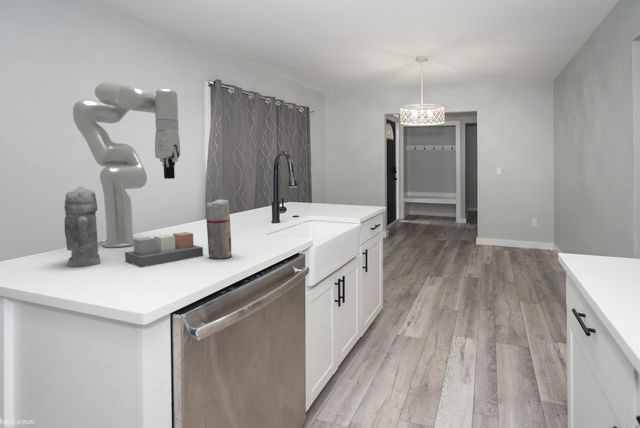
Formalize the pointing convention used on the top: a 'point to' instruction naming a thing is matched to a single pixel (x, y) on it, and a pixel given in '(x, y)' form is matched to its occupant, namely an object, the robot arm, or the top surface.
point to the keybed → (163, 256)
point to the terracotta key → (183, 240)
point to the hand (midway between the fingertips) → (169, 178)
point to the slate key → (144, 246)
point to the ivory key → (165, 243)
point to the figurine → (81, 227)
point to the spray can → (218, 229)
